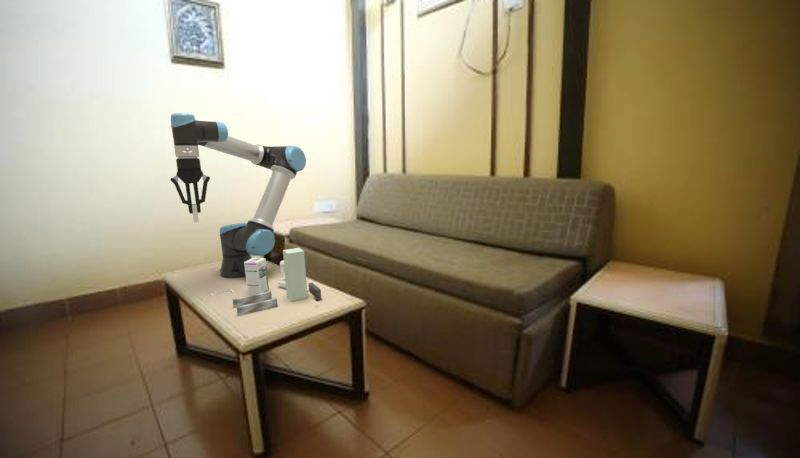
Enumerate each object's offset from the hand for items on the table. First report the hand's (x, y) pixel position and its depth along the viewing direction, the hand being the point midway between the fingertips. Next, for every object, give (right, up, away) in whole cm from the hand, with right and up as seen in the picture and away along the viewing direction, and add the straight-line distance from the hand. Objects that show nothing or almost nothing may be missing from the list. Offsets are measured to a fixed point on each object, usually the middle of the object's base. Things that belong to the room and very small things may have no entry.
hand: (196, 221), depth 137 cm
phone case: (+10, -30, +3) cm, 32 cm away
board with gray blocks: (+32, -30, -5) cm, 44 cm away
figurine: (+32, -28, +11) cm, 44 cm away
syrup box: (+22, -29, +5) cm, 36 cm away
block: (+38, -28, -1) cm, 48 cm away
